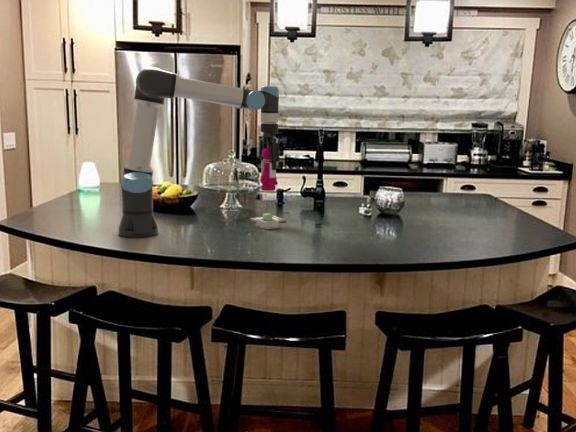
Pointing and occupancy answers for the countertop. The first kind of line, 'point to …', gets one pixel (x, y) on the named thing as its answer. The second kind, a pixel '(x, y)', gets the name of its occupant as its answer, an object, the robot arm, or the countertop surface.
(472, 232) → the countertop surface
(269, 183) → the pepper mill
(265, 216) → the button
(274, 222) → the button base
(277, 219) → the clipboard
